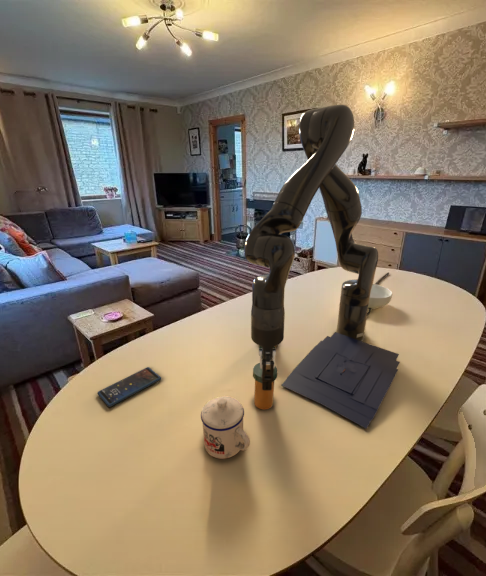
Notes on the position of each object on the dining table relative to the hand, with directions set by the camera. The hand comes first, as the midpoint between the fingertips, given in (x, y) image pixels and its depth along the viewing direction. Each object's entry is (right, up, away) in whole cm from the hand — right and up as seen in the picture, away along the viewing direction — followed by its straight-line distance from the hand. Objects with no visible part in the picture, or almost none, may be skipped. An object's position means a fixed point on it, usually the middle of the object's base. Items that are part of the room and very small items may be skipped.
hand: (266, 380), depth 76 cm
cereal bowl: (+46, +15, +56) cm, 74 cm away
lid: (0, +3, -1) cm, 3 cm away
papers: (+23, -3, +13) cm, 26 cm away
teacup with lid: (-8, -12, -9) cm, 17 cm away
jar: (-1, -7, +3) cm, 7 cm away
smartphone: (-37, -5, +9) cm, 38 cm away
